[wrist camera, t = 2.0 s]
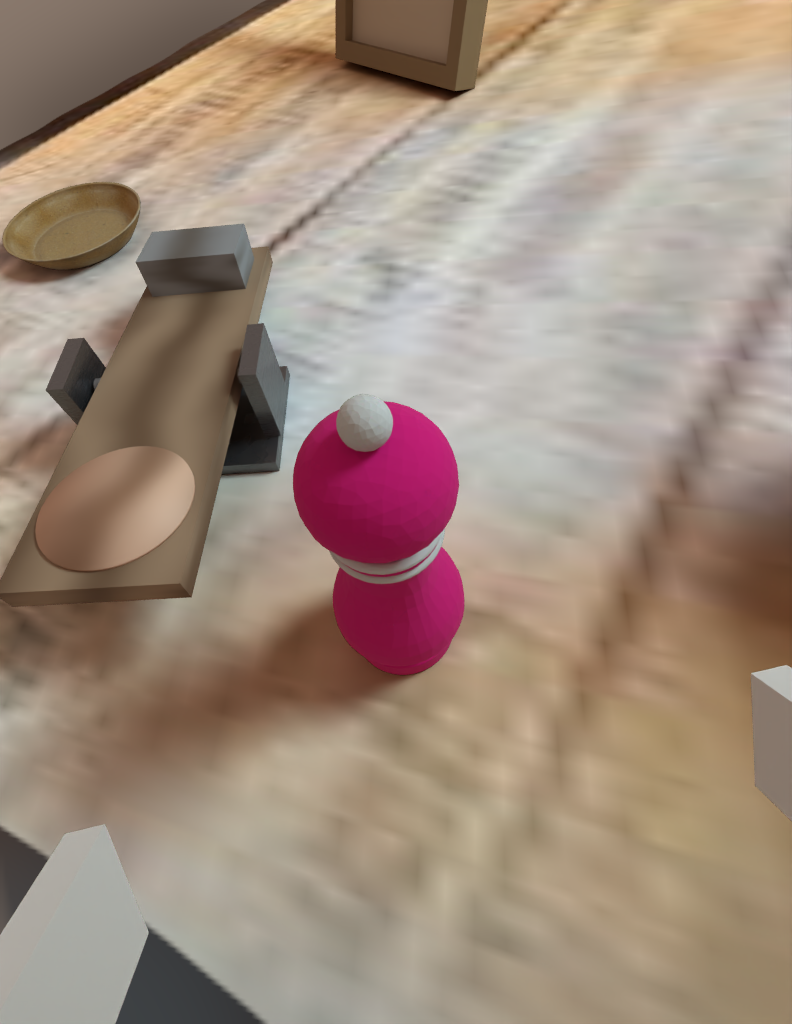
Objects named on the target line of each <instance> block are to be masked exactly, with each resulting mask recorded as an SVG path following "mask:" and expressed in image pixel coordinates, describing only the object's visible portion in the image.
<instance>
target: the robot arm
mask: <svg viewBox="0 0 792 1024" xmlns="http://www.w3.org/2000/svg"><path fill="white" fill-rule="evenodd" d="M751 690H752V717H753V743H754V770H755V786H756V787H757V788H758V789H759V790H760V791H761V792H762V793H763V794H764V795H765V796H766V797H767V798H768V799H769V800H770V801H771V802H772V803H773V804H775V805H776V806H777V807H778V808H779V809H780V810H781V811H782V812H783V813H784V814H785V815H786V816H787V817H788V818H789V819H790V820H791V821H792V668H791V667H789V666H788V665H784V666H780V667H776V668H771V669H767V670H763V671H759V672H754V673H751ZM148 933H149V932H148V929H147V927H146V924H145V922H144V920H143V917H142V915H141V912H140V910H139V907H138V905H137V902H136V900H135V897H134V895H133V892H132V890H131V887H130V885H129V882H128V880H127V877H126V875H125V873H124V870H123V868H122V865H121V863H120V860H119V858H118V855H117V853H116V850H115V848H114V845H113V843H112V840H111V838H110V835H109V833H108V831H107V828H106V826H105V824H103V825H99V826H95V827H91V828H86V829H82V830H78V831H73V832H69V833H65V835H64V836H63V838H62V839H61V841H60V842H59V844H58V845H57V847H56V849H55V850H54V852H53V853H52V855H51V856H50V858H49V860H48V861H47V863H46V864H45V866H44V867H43V869H42V871H41V872H40V874H39V875H38V877H37V878H36V880H35V882H34V883H33V885H32V886H31V888H30V889H29V891H28V892H27V894H26V895H25V897H24V899H23V900H22V902H21V904H20V905H19V906H18V908H17V910H16V911H15V913H14V914H13V916H12V918H11V919H10V921H9V922H8V924H7V925H6V927H5V928H4V930H3V932H2V933H1V935H0V1024H115V1023H116V1020H117V1017H118V1015H119V1012H120V1009H121V1007H122V1004H123V1001H124V999H125V996H126V993H127V990H128V988H129V985H130V982H131V980H132V977H133V974H134V971H135V969H136V966H137V963H138V960H139V958H140V955H141V952H142V950H143V947H144V944H145V942H146V939H147V936H148Z"/></svg>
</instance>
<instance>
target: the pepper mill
mask: <svg viewBox="0 0 792 1024" xmlns="http://www.w3.org/2000/svg"><path fill="white" fill-rule="evenodd" d="M458 488H459V480H458V470H457V463H456V460H455V457H454V454H453V451H452V449H451V447H450V445H449V443H448V441H447V439H446V437H445V436H444V435H443V433H442V432H441V430H440V429H439V428H438V427H437V426H436V425H435V424H434V423H433V422H432V421H431V420H429V419H428V418H427V417H426V416H424V415H423V414H422V413H420V412H418V411H416V410H414V409H412V408H410V407H408V406H404V405H401V404H398V403H394V402H384V401H382V400H381V399H379V398H377V397H375V396H373V395H368V394H360V395H356V396H353V397H352V398H350V399H348V400H347V401H346V402H344V404H343V405H342V406H341V408H340V409H339V410H337V411H335V412H333V413H331V414H330V415H328V416H327V417H326V418H324V419H323V420H322V421H321V422H319V423H318V424H317V425H316V426H315V428H314V429H313V430H312V431H311V432H310V434H309V435H308V436H307V438H306V439H305V441H304V442H303V444H302V446H301V448H300V450H299V453H298V455H297V459H296V462H295V467H294V474H293V490H294V499H295V502H296V506H297V509H298V512H299V515H300V517H301V519H302V521H303V522H304V524H305V526H306V527H307V529H308V530H309V531H310V533H311V534H312V536H313V537H314V538H315V540H317V541H318V542H319V543H320V544H321V545H322V546H323V547H325V548H326V549H328V550H329V551H330V553H331V556H332V557H333V559H334V560H335V562H336V563H337V564H338V565H339V567H340V568H339V571H338V574H337V577H336V580H335V584H334V590H333V608H334V613H335V617H336V621H337V624H338V627H339V629H340V631H341V633H342V635H343V637H344V638H345V639H346V641H347V642H348V643H349V645H350V646H351V647H352V648H353V649H355V650H356V651H357V652H358V653H359V654H361V655H362V656H364V657H365V658H366V659H367V660H368V661H369V662H370V663H371V664H372V665H374V666H375V667H377V668H378V669H380V670H383V671H385V672H388V673H391V674H398V675H408V674H414V673H418V672H421V671H424V670H426V669H428V668H429V667H431V666H433V665H434V664H435V663H437V662H438V661H439V660H440V659H441V658H442V656H443V655H444V654H445V652H446V651H447V649H448V648H449V645H450V643H451V641H452V638H453V637H454V635H455V634H456V632H457V630H458V628H459V626H460V623H461V620H462V617H463V612H464V592H463V585H462V580H461V577H460V574H459V571H458V569H457V568H456V566H455V564H454V562H453V561H452V559H451V557H450V556H449V555H448V553H447V552H446V551H445V550H444V549H443V548H442V547H441V546H442V543H443V539H444V532H445V527H446V525H447V523H448V522H449V520H450V519H451V516H452V514H453V511H454V508H455V505H456V500H457V494H458Z"/></svg>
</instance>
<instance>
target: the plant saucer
mask: <svg viewBox="0 0 792 1024" xmlns="http://www.w3.org/2000/svg"><path fill="white" fill-rule="evenodd" d="M140 205H141V202H140V198H139V196H138V194H137V193H136V192H135V191H134V190H133V189H131V188H130V187H128V186H125V185H123V184H119V183H112V182H93V183H85V184H79V185H75V186H70V187H67V188H63V189H60V190H57V191H55V192H52V193H50V194H48V195H46V196H44V197H42V198H39V199H38V200H36V201H34V202H32V203H31V204H29V205H28V206H27V207H25V208H24V209H22V210H21V211H20V212H19V213H18V214H17V215H16V216H15V217H14V218H13V219H12V220H11V221H10V222H9V224H8V225H7V227H6V229H5V230H4V233H3V238H2V240H3V245H4V247H5V249H6V251H7V252H8V253H10V254H11V255H13V256H14V257H17V258H19V259H21V260H23V261H26V262H29V263H32V264H35V265H38V266H42V267H46V268H50V269H57V270H70V269H77V268H82V267H86V266H89V265H92V264H95V263H98V262H100V261H102V260H104V259H106V258H108V257H110V256H112V255H113V254H115V253H116V252H118V251H119V250H120V249H121V248H122V247H124V246H125V244H126V243H127V242H128V241H129V240H130V238H131V236H132V234H133V232H134V230H135V227H136V225H137V222H138V218H139V214H140Z"/></svg>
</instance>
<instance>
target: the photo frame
mask: <svg viewBox="0 0 792 1024" xmlns="http://www.w3.org/2000/svg"><path fill="white" fill-rule="evenodd" d="M487 3H488V0H336V58H338V59H341V60H345V61H348V62H352V63H356V64H359V65H363V66H366V67H370V68H374V69H377V70H381V71H384V72H388V73H392V74H395V75H399V76H402V77H406V78H409V79H413V80H417V81H420V82H424V83H427V84H431V85H435V86H438V87H442V88H445V89H449V90H453V91H459V90H466V89H472V88H475V81H476V75H477V68H478V62H479V55H480V49H481V42H482V36H483V29H484V23H485V16H486V10H487Z"/></svg>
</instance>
